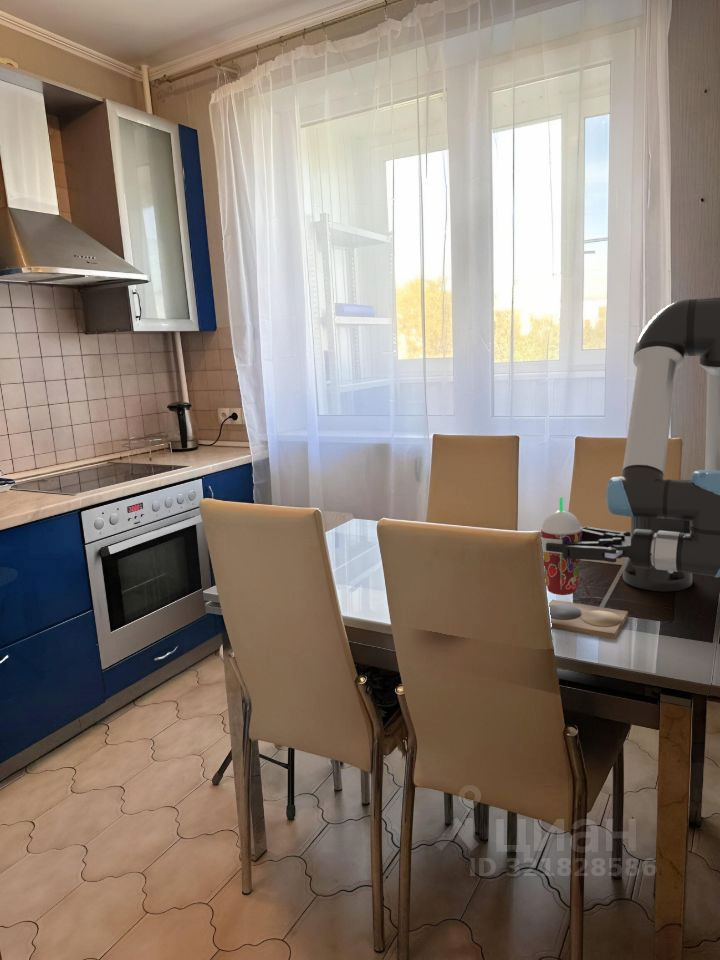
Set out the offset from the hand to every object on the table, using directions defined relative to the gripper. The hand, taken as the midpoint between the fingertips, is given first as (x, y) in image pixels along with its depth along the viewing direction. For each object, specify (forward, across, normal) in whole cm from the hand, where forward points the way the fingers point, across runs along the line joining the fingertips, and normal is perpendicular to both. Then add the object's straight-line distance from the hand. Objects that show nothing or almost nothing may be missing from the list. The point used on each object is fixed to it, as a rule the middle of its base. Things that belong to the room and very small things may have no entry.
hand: (539, 537), depth 141 cm
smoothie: (-5, 0, -11) cm, 12 cm away
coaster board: (-9, 0, -17) cm, 19 cm away
